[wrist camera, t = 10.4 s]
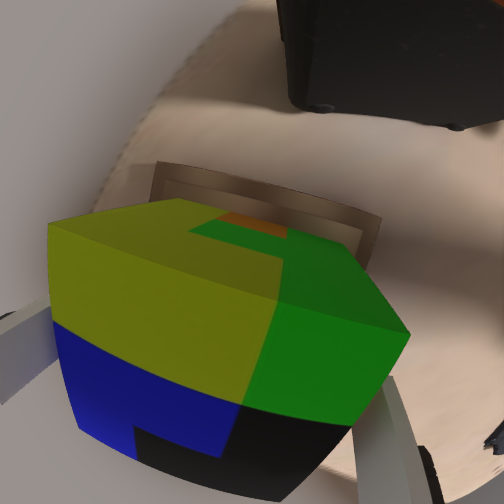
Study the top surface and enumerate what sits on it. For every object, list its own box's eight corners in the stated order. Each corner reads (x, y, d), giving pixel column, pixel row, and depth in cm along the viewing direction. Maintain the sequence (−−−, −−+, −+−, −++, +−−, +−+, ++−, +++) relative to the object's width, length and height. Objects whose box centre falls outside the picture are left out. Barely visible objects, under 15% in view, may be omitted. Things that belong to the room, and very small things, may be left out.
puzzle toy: (157, 335, 18) (78, 428, 9) (178, 198, 16) (48, 223, 6) (290, 377, 18) (279, 502, 8) (343, 244, 15) (410, 334, 5)
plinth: (364, 211, 18) (383, 218, 14) (307, 368, 22) (308, 400, 18) (181, 164, 19) (155, 160, 15) (157, 323, 23) (134, 347, 19)
